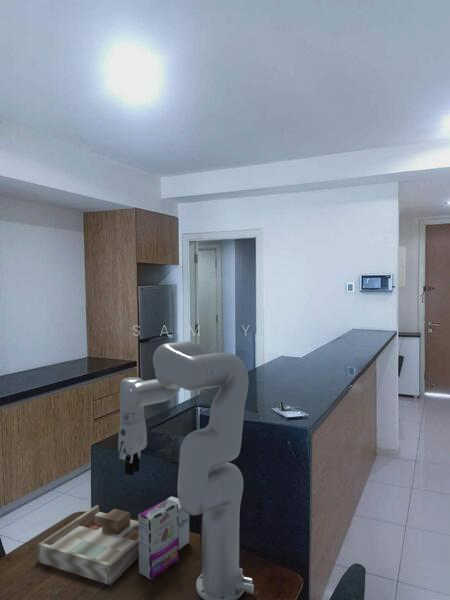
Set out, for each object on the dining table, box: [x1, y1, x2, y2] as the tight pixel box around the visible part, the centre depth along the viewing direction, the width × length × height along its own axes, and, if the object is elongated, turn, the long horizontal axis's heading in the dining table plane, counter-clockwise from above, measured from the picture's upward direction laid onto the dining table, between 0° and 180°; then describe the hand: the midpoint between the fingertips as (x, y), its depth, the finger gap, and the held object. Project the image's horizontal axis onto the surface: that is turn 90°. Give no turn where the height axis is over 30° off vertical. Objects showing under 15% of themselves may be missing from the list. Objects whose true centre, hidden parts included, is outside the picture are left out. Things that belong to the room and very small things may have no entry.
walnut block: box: [102, 508, 131, 535], centre depth 137 cm, size 6×6×4 cm
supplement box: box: [167, 496, 190, 550], centre depth 133 cm, size 7×7×13 cm
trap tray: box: [37, 504, 139, 586], centre depth 131 cm, size 25×25×5 cm
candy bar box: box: [137, 498, 180, 581], centre depth 123 cm, size 11×5×16 cm, turn 143°
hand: (132, 472), depth 145 cm, fingers closed
